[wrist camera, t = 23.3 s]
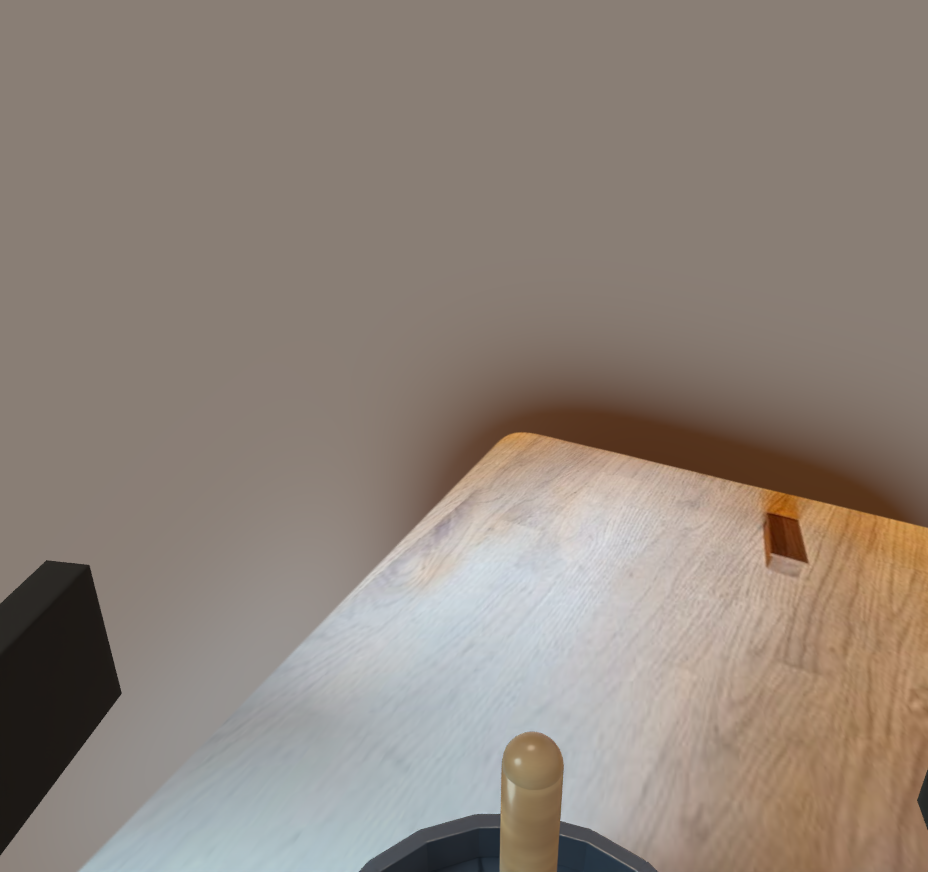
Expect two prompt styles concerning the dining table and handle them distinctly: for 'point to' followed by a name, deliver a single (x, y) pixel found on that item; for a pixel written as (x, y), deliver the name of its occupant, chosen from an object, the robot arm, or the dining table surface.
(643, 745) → the dining table surface
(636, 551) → the dining table surface
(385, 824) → the dining table surface
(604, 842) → the dark grey round dish
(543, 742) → the beech masher
